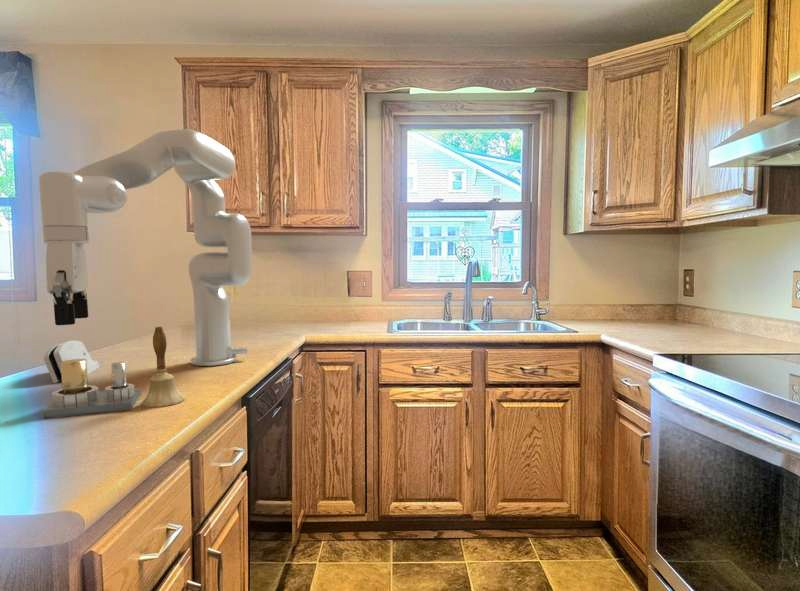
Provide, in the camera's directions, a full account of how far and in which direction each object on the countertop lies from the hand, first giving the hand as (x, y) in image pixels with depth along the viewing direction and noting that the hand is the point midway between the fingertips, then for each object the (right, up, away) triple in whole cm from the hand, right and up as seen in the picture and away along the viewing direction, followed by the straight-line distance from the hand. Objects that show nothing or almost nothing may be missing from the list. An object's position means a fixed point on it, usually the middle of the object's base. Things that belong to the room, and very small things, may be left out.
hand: (72, 321), depth 101 cm
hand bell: (+16, -18, +5) cm, 24 cm away
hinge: (-19, -16, +30) cm, 39 cm away
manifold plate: (+3, -18, +2) cm, 18 cm away
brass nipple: (0, -16, +1) cm, 16 cm away
